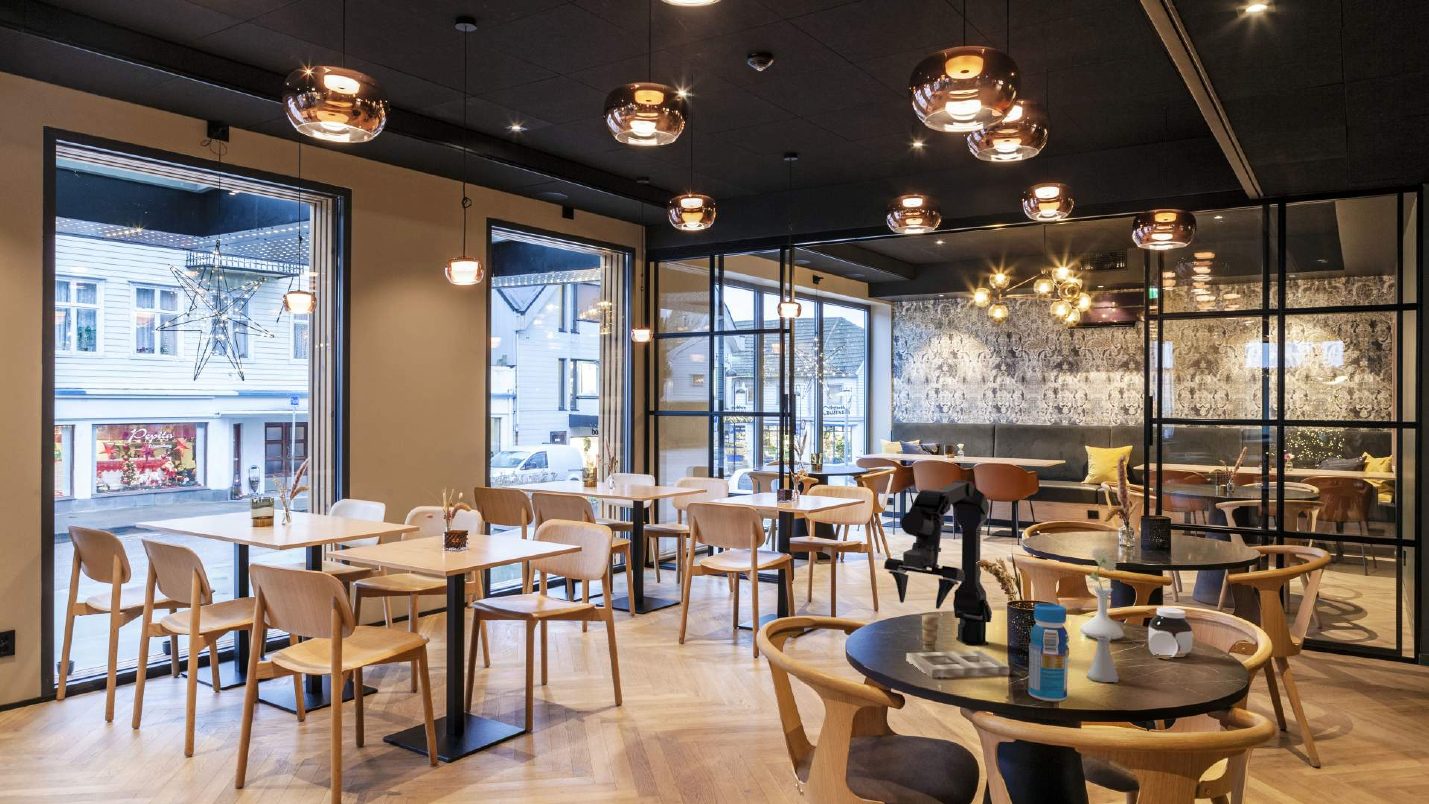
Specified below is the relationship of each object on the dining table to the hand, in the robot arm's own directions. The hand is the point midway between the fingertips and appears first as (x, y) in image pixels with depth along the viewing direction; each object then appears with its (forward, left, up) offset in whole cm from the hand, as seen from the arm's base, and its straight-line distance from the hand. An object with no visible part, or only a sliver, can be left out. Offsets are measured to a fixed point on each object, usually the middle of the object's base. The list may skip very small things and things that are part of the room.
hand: (919, 605), depth 224 cm
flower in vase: (-66, -23, -16) cm, 72 cm away
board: (-10, 0, -15) cm, 19 cm away
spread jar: (-72, -3, -16) cm, 74 cm away
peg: (-10, -15, -15) cm, 24 cm away
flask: (-41, +13, -16) cm, 46 cm away
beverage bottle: (-20, +23, -16) cm, 34 cm away
